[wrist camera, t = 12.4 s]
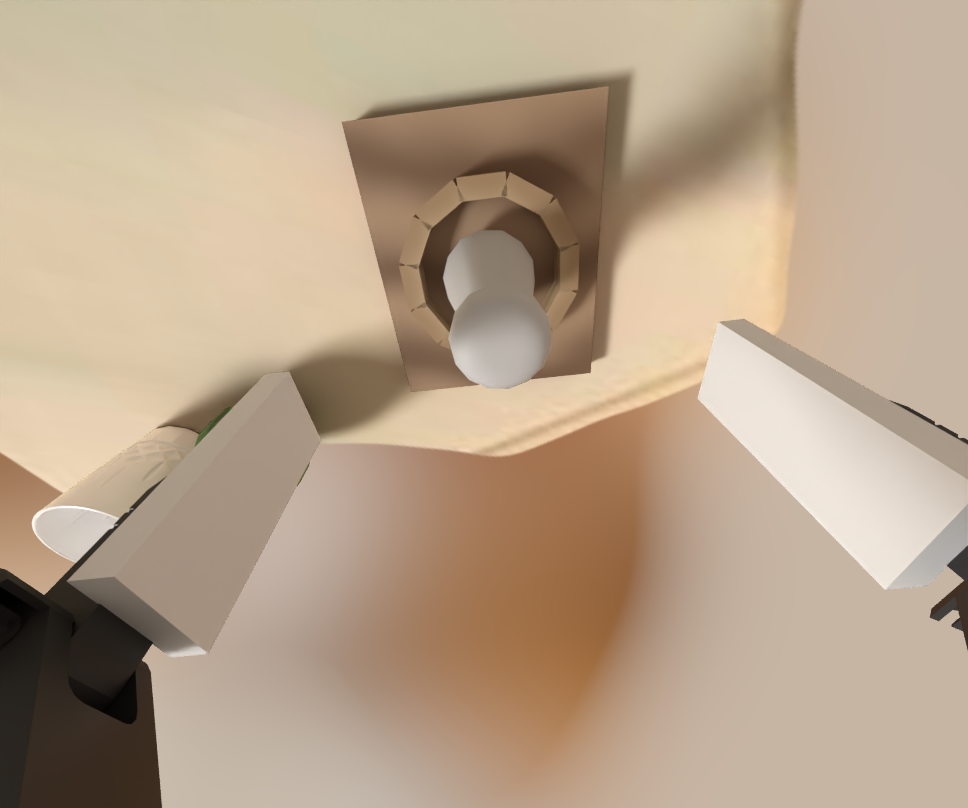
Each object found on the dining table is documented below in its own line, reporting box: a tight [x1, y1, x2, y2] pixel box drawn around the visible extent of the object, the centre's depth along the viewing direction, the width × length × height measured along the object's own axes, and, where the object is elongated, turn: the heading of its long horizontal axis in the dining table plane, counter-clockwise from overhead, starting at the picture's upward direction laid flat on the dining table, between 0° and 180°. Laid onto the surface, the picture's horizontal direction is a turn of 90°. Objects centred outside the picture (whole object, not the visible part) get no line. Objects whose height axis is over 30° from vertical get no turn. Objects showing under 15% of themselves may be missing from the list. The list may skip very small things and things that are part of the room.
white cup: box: [32, 426, 199, 562], centre depth 31 cm, size 8×8×10 cm
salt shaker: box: [443, 230, 551, 389], centre depth 20 cm, size 6×6×13 cm
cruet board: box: [342, 86, 609, 392], centre depth 25 cm, size 18×15×4 cm
